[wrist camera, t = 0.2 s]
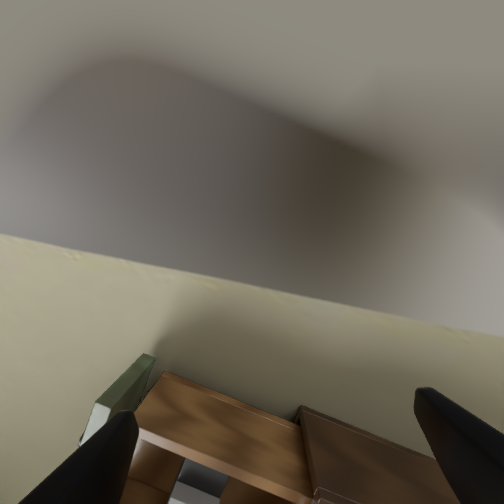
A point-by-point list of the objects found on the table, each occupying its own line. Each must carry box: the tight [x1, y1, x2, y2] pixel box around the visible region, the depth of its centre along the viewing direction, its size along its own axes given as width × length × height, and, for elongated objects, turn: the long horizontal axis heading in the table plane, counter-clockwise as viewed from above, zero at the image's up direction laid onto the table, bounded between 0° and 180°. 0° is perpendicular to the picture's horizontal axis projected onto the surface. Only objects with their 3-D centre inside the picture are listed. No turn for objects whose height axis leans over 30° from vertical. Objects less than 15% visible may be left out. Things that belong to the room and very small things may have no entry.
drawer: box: [78, 353, 314, 504], centre depth 20 cm, size 19×12×7 cm, turn 68°
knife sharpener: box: [166, 457, 229, 504], centre depth 20 cm, size 7×3×5 cm, turn 158°
